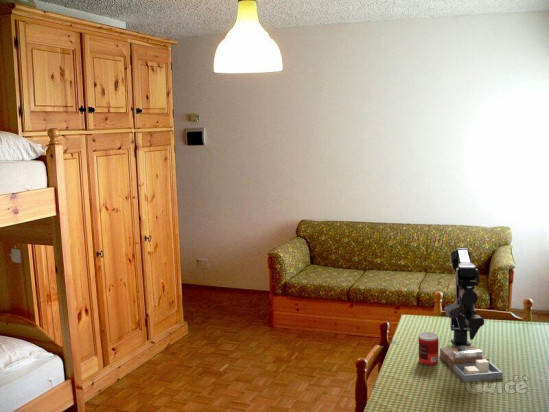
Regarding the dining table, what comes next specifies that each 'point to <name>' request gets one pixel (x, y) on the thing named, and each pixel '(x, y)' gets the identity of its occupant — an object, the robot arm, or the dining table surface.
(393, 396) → the dining table surface
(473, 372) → the tile
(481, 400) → the dining table surface
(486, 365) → the tile
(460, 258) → the robot arm
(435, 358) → the canned food
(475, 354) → the scraper
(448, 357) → the plate
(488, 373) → the box
